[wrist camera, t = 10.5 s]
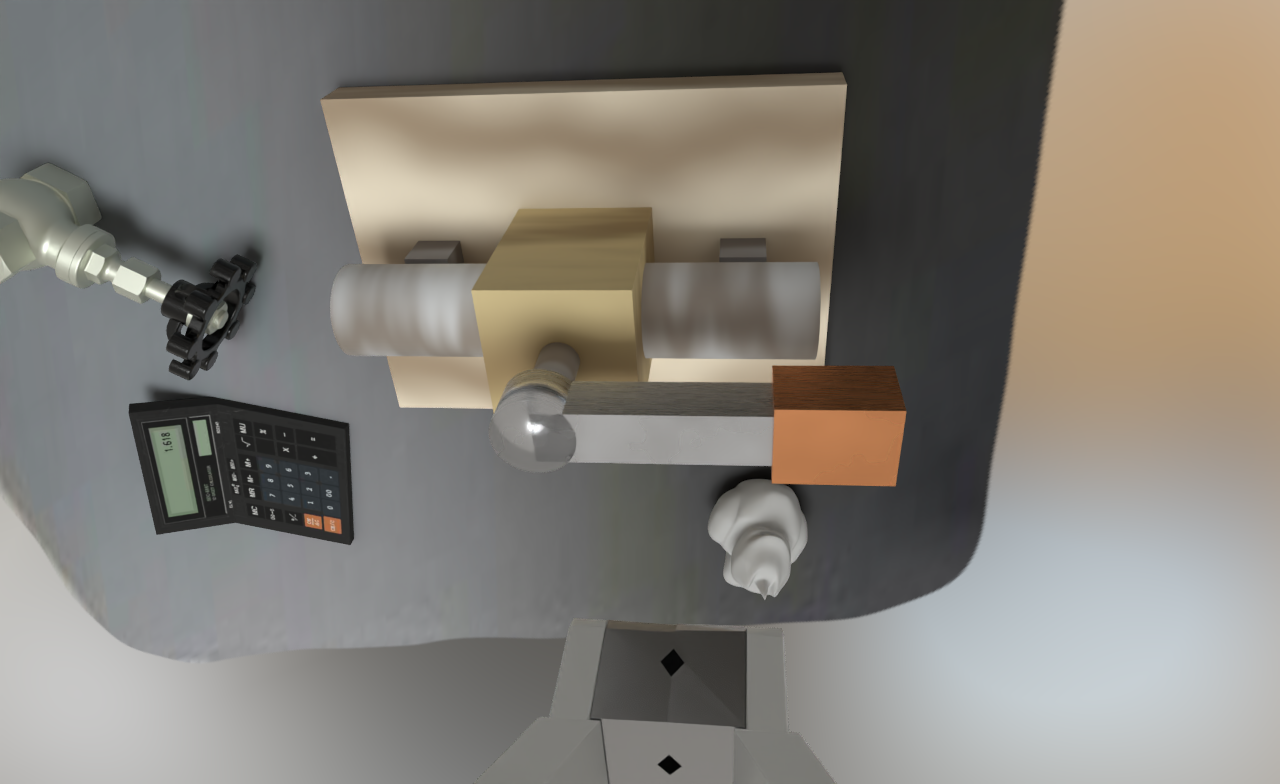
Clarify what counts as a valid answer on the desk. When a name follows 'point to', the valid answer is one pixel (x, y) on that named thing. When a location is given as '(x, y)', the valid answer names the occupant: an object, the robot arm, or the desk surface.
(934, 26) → the desk surface
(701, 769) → the robot arm
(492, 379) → the valve stand
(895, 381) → the valve lever
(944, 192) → the desk surface
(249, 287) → the valve
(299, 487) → the calculator
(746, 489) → the white meringue swirl
